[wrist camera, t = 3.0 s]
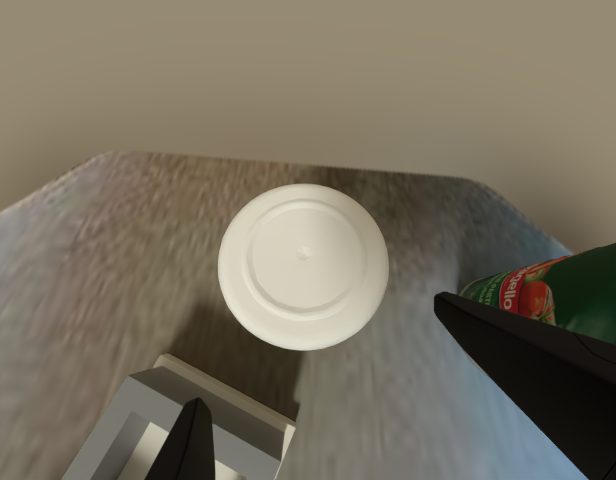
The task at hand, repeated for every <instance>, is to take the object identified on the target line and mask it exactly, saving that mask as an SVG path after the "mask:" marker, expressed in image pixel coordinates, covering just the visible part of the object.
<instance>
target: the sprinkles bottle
mask: <svg viewBox="0 0 616 480" xmlns="http://www.w3.org/2000/svg"><path fill="white" fill-rule="evenodd" d="M218 276H219V282H220V287H221V290H222V293H223V296H224V298H225V301H226V303H227V305H228V307H229V309H230V310H231V312H232V313H233V314H234V316H235V317H236V318H237V320H238V321H239V322H240V323H241V324H242V325H243V326H244V327H245V328H246V329H247V330H248V331H250V332H251V333H252V334H254V335H255V336H256V337H258V338H260V339H261V340H263V341H266V342H268V343H270V344H272V345H275V346H278V347H282V348H286V349H291V350H316V349H322V348H326V347H329V346H332V345H336V344H338V343H340V342H342V341H344V340H346V339H347V338H349V337H351V336H353V335H354V334H355V333H357V332H358V331H359V330H360V329H361V328H363V327H364V325H365V324H366V323H367V322H368V321H369V320H370V319H371V317H372V316H373V315H374V313H375V312H376V310H377V309H378V307H379V305H380V303H381V301H382V299H383V296H384V293H385V290H386V287H387V282H388V277H389V260H388V253H387V248H386V244H385V241H384V238H383V236H382V233H381V231H380V229H379V227H378V226H377V224H376V222H375V221H374V219H373V218H372V217H371V216H370V214H369V213H368V212H367V211H366V210H365V209H364V208H363V207H362V206H361V205H360V204H358V203H357V202H356V201H355V200H353V199H352V198H350V197H349V196H347V195H345V194H343V193H341V192H339V191H337V190H334V189H332V188H329V187H325V186H321V185H315V184H292V185H285V186H281V187H278V188H275V189H272V190H269V191H267V192H265V193H263V194H261V195H259V196H258V197H256V198H255V199H253V200H252V201H250V202H249V203H248V204H247V205H246V206H245V207H243V208H242V209H241V210H240V212H239V213H238V214H237V215H236V216H235V218H234V219H233V220H232V222H231V223H230V225H229V227H228V229H227V231H226V233H225V235H224V237H223V240H222V243H221V248H220V251H219V259H218Z"/></svg>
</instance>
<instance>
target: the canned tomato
mask: <svg viewBox="0 0 616 480" xmlns="http://www.w3.org/2000/svg"><path fill="white" fill-rule="evenodd" d="M459 296H462V297H465V298H468V299H471V300H475V301H478V302H481V303H484V304H487V305H491V306H494V307H497V308H500V309H503V310H507V311H510V312H513V313H516V314H519V315H522V316H526V317H529V318H532V319H535V320H538V321H542V322H545V323H548V324H551V325H554V326H558V327H561V328H564V329H567V330H570V331H571V332H572V331H574V332H577V333H580V334H583V335H586V336H590V337H593V338H596V339H600V340H603V341H606V342H610V343H613V344H616V243H614V244H611V245H608V246H604V247H598V248H595V249H592V250H589V251H585V252H579V253H576V254H573V255H570V256H564V257H561V258H558V259H554V260H549V261H546V262H543V263H538V264H535V265H532V266H526V267H524V268H520V269H515V270H513V271H507V272H505V273H501V274H497V275H494V276H490V277H484V278H480V279H477V280H474V281H473V282H471V283H470V284H468V285H467V286H466V287H465V288H464V289H463V290H462V291H461V292H460V294H459ZM463 351H464V350H463ZM464 352H465V351H464ZM465 353H466V352H465ZM466 355H467V356H468V358H469V359H470V361H471V362H472V363H473V364H474V365H475V366H476V367H477V368H478V369H479V370H480V371H482V372H483V373H484V374H486V373H485V372H484V371H483V370H482V369H481V368H480V367H479V366H478V365H477V364H476V362H475V361H474V360H473V359H472V358H471V357H470V356H469V355H468V354H467V353H466ZM486 375H487V374H486ZM487 376H488V375H487ZM488 377H489V376H488Z"/></svg>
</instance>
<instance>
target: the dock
mask: <svg viewBox="0 0 616 480" xmlns="http://www.w3.org/2000/svg"><path fill="white" fill-rule="evenodd" d="M196 397H200V398H201V399H202V400H203V401H204V403H205V404H206V405H207V407H208V408H209V409H210V411H211V415H212V426H213V440H214V454H215V480H275V479H276V476H277V474H278V471H279V469H280V466H281V463H282V461H283V458H284V456H285V453H286V451H287V448H288V446H289V443H290V441H291V438H292V436H293V433H294V431H295V428H296V422H294V421H293V420H291V419H289V418H287V417H285V416H283V415H281V414H280V413H278V412H276V411H274V410H272V409H270V408H269V407H267V406H265V405H263V404H261V403H259V402H257V401H256V400H254V399H252V398H250V397H248V396H246V395H244V394H243V393H241V392H239V391H237V390H235V389H233V388H232V387H230V386H228V385H226V384H224V383H222V382H220V381H219V380H217V379H215V378H213V377H211V376H209V375H207V374H206V373H204V372H202V371H200V370H198V369H196V368H195V367H193V366H191V365H189V364H187V363H185V362H183V361H182V360H180V359H178V358H176V357H174V356H172V355H170V354H169V353H167V354H162V355H160V357H159V359H158V360H157V362H156V363H155V365H154V367H153V368H152V369H149V370H146V371H142V372H138V373H135V374H131V375H128V376H127V377H126V379H125V381H124V382H123V384H122V385H121V387H120V388H119V390H118V392H117V393H116V395H115V396H114V398H113V399H112V401H111V402H110V404H109V406H108V407H107V409H106V410H105V412H104V413H103V415H102V416H101V418H100V420H99V421H98V423H97V424H96V426H95V427H94V429H93V431H92V432H91V434H90V435H89V437H88V438H87V440H86V441H85V443H84V445H83V446H82V448H81V449H80V451H79V452H78V454H77V455H76V457H75V459H74V460H73V462H72V463H71V465H70V466H69V468H68V470H67V471H66V473H65V474H64V476H63V477H62V479H61V480H144V479H145V477H146V475H147V473H148V471H149V470H150V468H151V466H152V464H153V462H154V460H155V458H156V457H157V455H158V453H159V451H160V449H161V447H162V445H163V444H164V442H165V440H166V438H167V436H168V434H169V432H170V431H171V429H172V427H173V425H174V423H175V421H176V419H177V418H178V416H179V414H180V412H181V410H182V408H183V406H184V405H185V403H186V402H188V401H189V400H192V399H194V398H196Z"/></svg>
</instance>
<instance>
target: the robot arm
mask: <svg viewBox="0 0 616 480" xmlns="http://www.w3.org/2000/svg"><path fill="white" fill-rule="evenodd" d="M434 312H435V315H436V316H437V318H438V319H439V320H440V321H441V323H442V324H443V325H444V326H445V328H446V329H447V330H448V331H449V333H450V334H451V335H452V336H453V338H454V339H455V340H456V341H457V343H458V344H459V345H460V346H461V347H462V349H463V350H464V351H465V352H466V353H467V354H468V355H469V356H470V357H471V358H472V359H473V360H474V361H475V362H476V364H477V365H478V366H479V367H480V368H481V369H482V370H483V371H484V372H485V373H486V374H487V375H488V376H489V377H490V378H491V379H492V380H493V381H494V382H495V383H496V384H497V385H498V386H499V387H500V388H501V389H502V390H503V391H504V392H505V394H506V395H507V396H508V397H509V398H510V399H511V400H512V401H513V402H514V403H515V404H516V405H517V406H518V407H519V408H520V409H521V410H522V411H523V412H524V413H525V414H526V415H527V416H528V417H529V418H530V419H531V420H532V421H533V422H534V424H535V425H536V426H537V427H538V428H539V429H540V430H541V431H542V432H543V433H544V434H545V435H546V436H547V437H548V438H549V439H550V440H551V441H552V442H553V443H554V444H555V445H556V446H557V447H558V448H559V449H560V450H561V451H562V452H563V454H564V455H565V456H566V457H567V458H568V459H569V460H570V461H571V462H572V463H573V464H574V465H575V466H576V467H577V468H578V469H579V470H580V471H581V472H582V473H583V474H584V475H585V476H586V477H587V478H588V479H589V480H616V344H613V343H610V342H606V341H603V340H600V339H596V338H593V337H590V336H586V335H583V334H580V333H577V332H574V331H572V332H571V331H570V330H567V329H564V328H561V327H558V326H554V325H551V324H548V323H545V322H542V321H538V320H535V319H532V318H529V317H526V316H522V315H519V314H516V313H513V312H510V311H507V310H503V309H500V308H497V307H494V306H491V305H487V304H484V303H481V302H478V301H475V300H471V299H468V298H465V297H462V296H459V295H455V294H452V293H449V292H441V293H439V294H436V295H435V296H434ZM144 480H215V454H214V440H213V426H212V415H211V411H210V409H209V408H208V407H207V405H206V404H205V403H204V401H203V400H202V399H201V398H200V397H196V398H194V399H192V400H189V401H188V402H186V403H185V405H184V406H183V408H182V410H181V412H180V414H179V416H178V418H177V419H176V421H175V423H174V425H173V427H172V429H171V431H170V432H169V434H168V436H167V438H166V440H165V442H164V444H163V445H162V447H161V449H160V451H159V453H158V455H157V457H156V458H155V460H154V462H153V464H152V466H151V468H150V470H149V471H148V473H147V475H146V477H145V479H144Z"/></svg>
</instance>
